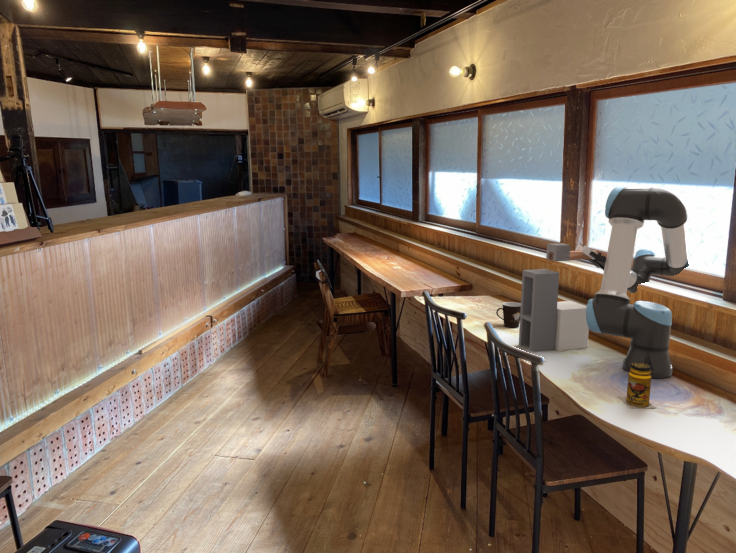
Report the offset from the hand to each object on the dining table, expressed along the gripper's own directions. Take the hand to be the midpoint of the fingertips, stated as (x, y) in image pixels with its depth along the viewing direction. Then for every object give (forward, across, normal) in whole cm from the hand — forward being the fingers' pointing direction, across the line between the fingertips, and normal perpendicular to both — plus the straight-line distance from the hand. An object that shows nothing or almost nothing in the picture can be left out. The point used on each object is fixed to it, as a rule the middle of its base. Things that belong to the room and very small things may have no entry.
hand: (580, 248), depth 210 cm
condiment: (-4, -54, -42) cm, 69 cm away
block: (-15, 0, -36) cm, 39 cm away
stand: (-5, 0, -42) cm, 42 cm away
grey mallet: (0, 0, -5) cm, 5 cm away
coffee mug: (-9, +30, -39) cm, 50 cm away
